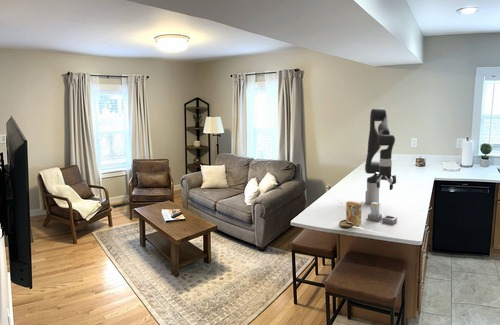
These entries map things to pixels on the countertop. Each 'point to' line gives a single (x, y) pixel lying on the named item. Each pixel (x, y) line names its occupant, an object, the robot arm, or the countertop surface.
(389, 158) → the robot arm
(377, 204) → the plug
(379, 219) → the grey boxy piece
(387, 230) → the countertop surface
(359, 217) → the candy box
